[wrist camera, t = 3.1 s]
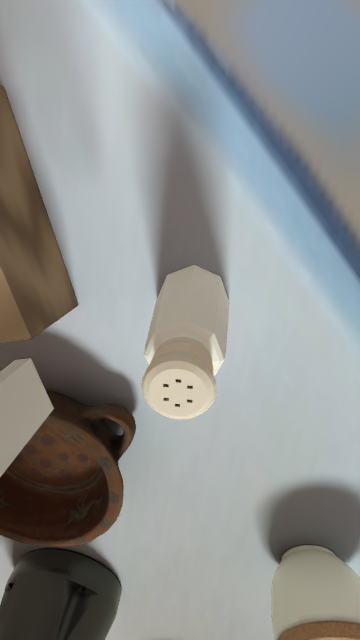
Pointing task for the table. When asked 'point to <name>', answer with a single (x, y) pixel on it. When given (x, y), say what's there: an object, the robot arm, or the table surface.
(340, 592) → the lidded jar
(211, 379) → the pepper shaker
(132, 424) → the dish
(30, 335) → the display riser
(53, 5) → the table surface
